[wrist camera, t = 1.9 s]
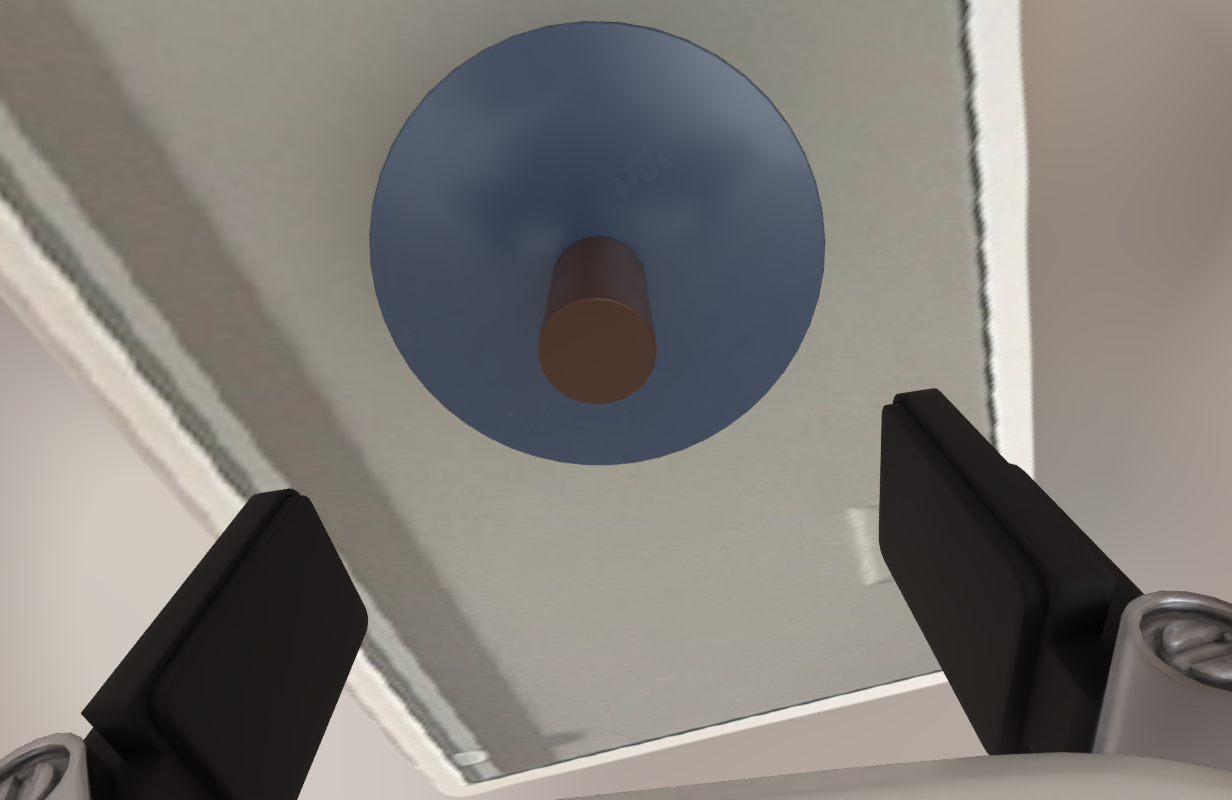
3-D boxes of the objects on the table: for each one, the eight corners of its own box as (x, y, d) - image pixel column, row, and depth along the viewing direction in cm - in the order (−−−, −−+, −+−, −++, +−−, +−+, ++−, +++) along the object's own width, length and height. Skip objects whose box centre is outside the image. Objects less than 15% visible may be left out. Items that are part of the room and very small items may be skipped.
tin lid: (308, 76, 18) (179, 95, 12) (808, -28, 17) (905, -55, 11) (456, 472, 24) (414, 597, 19) (819, 415, 23) (883, 530, 18)
